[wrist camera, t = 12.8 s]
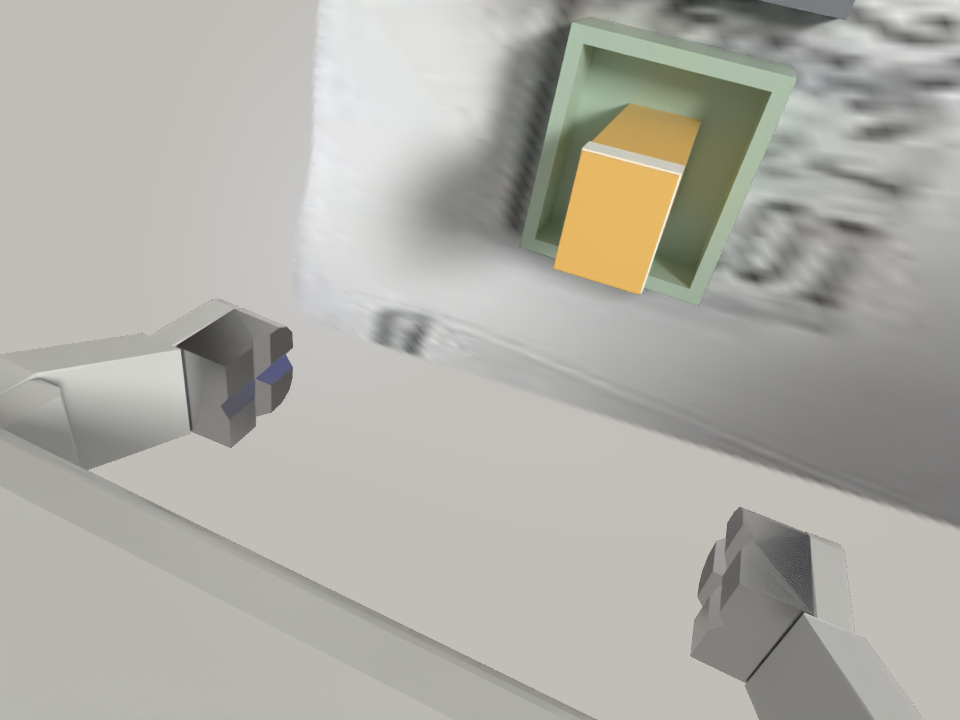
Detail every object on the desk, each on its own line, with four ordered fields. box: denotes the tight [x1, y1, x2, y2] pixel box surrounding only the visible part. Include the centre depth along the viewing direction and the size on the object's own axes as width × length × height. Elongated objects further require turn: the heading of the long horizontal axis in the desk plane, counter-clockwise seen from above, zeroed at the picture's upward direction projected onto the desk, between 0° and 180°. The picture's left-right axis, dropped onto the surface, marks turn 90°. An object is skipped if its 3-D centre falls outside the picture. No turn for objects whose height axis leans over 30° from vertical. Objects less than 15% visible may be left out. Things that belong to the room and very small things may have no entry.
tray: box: [520, 17, 797, 306], centre depth 27 cm, size 8×9×3 cm
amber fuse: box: [554, 103, 702, 295], centre depth 24 cm, size 3×4×9 cm
